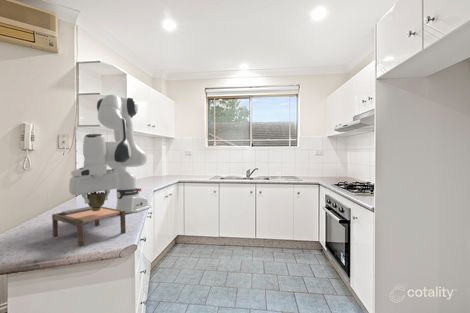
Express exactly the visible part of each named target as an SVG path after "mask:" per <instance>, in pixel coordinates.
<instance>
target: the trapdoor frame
mask: <svg viewBox="0 0 470 313" xmlns="http://www.w3.org/2000/svg"><path fill="white" fill-rule="evenodd" d="M101 208H103V209H109V210H114V211H119V212H120V214H117V216H119V217H120V218H119V219H120V234H125V233H127V231H126V213H125V211H123V210H117V209H116V208H111V207H106V206H101ZM51 220H52V222H51V223H52V237H53V238H56V237H59V222H61V223H65V224H70V225H72V226H75V227H76V228H77V229H76V230H77V231H76V232H77V236H76V237H77V247H83V246H84V245H85V244H84V243H85V242H84V241H85V239H84V224H83V221H82V220H78V219H74V218H70V217H67V216H63V215H62V212H57V213H53V214H51ZM94 226H95V227H99V226H100V219H96V220H94Z"/></svg>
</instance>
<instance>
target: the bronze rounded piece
mask: <svg viewBox="0 0 470 313" xmlns="http://www.w3.org/2000/svg"><path fill="white" fill-rule="evenodd" d="M87 194H88V195H87V198H88V199H89V200H90V203H88V204H87V205H88V207H92V208H91V210H92V211H99V210H100V209H101V207H104V204H105V201H106V200H105V196H106V192H105V191H97V192H91V193H87Z"/></svg>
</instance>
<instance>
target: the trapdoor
mask: <svg viewBox="0 0 470 313" xmlns="http://www.w3.org/2000/svg"><path fill="white" fill-rule="evenodd" d="M91 208H92V207H90V206H86V207H85V206H84V207H81V208H75V209H69V210H65V211H61V213H62V215H63V216H67V217H70V218H74V219H78V220H82V221H83V222H87V221H90V222H91V221H95V220H96V219H99V220H100V219H104V218H108V217H112V216H116V215H117V214H120V212H119V211H114V210H109V209H103V208H101V209H100V210H99V211H92V210H91ZM117 216H118V215H117Z"/></svg>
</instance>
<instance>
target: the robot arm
mask: <svg viewBox="0 0 470 313" xmlns="http://www.w3.org/2000/svg"><path fill="white" fill-rule="evenodd" d="M137 102H138V101H136V99H134V98H133V97H119V96H118V95H115V94H108V95H105V96H104V97H102V98H100V99H99V100H98V101H97V104H96V109H97V120H98V121H99V122H98V123H100V124H101V125H102V126H103V127H105V128H107V129H110V130H113V136H114V141H105V140H106V139H105V136H104V134H102V133H89V134H85V135H84V138H83V144H82V154H83V158H84V159H83V160H84V161H83V166H82V167H79V168H77V169H74V170H72V171H71V172H70V175H71V178H70V180H69V184H68V185H69V186H68V187H69V188H68V191H69V193H70V194H71V195H81V196H82V199H84V204H85V205H88V203H90V200H89V199H88V198H87V195H88V194H90V193H91V192H92V193H93V192H97V193H98V192H104V193H105V192H106V196H105V201H107V200H108V198H109V195H110V193H111V190H116V206H115V209H117V210H123V211H125V214H128V213H133V214H134V213H138V212H141V211H145V210H148V209H152V208H153V207H152V205H150V204H149V202H148V199H147V198H146V197H145V196H143V195H142V194H141V193H139V192H142V190H143V189H142V188H140V187H139V188H137V179H136V176H135V174H133V173H132V172H130V171H129V170H128V169H127V168H137V167H142V166H144V165H145V164H146V162H147V160H148V159H147V158H148V157H147V154H146V152H145V151H144V150H143V149H142V148H140V147H139V146H138V145H137V142H136V141H135V134H134V126H133V125H134V124H133V119H132V118H134V116H136V115H137V113H138V109H139V106H138V103H137ZM107 167H108V168H109V169H108V168H107ZM87 193H88V194H87Z"/></svg>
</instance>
